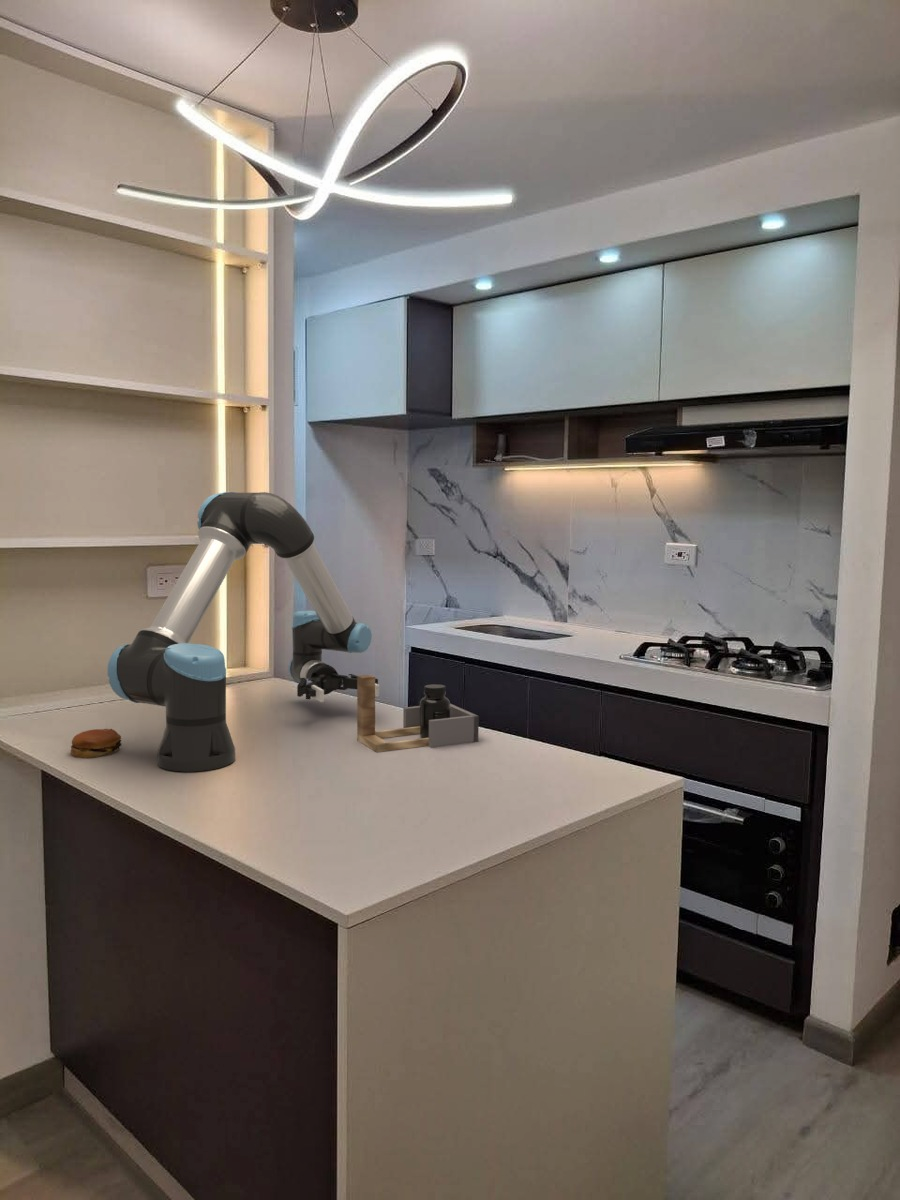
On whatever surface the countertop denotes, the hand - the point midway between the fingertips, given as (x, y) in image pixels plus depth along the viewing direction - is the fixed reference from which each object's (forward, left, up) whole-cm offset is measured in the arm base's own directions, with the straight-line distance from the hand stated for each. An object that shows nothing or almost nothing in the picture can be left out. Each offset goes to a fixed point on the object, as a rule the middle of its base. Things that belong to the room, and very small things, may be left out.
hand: (350, 693), depth 204 cm
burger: (-15, +52, -9) cm, 55 cm away
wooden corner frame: (-9, -14, -9) cm, 19 cm away
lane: (-6, -20, -9) cm, 23 cm away
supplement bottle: (-7, -19, -9) cm, 22 cm away
